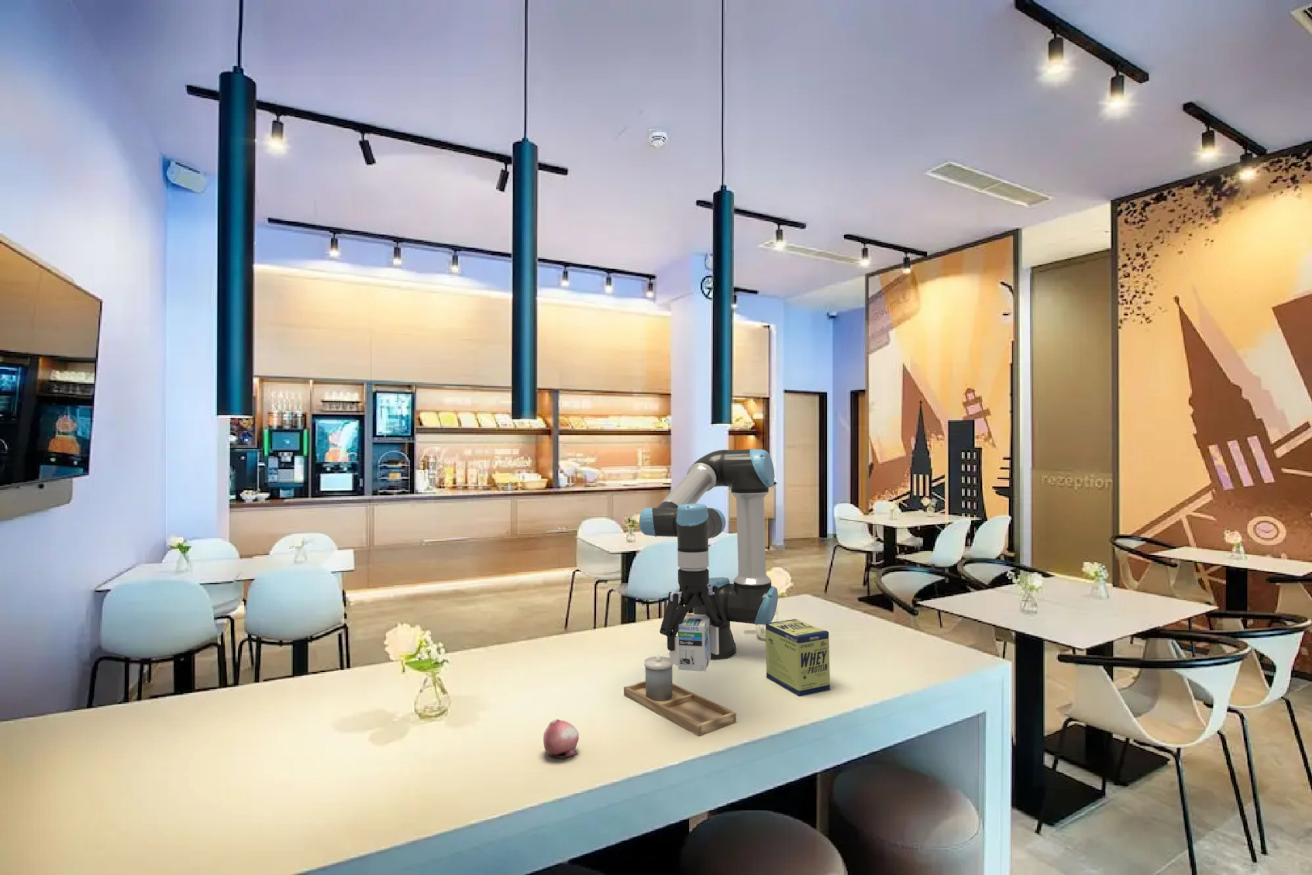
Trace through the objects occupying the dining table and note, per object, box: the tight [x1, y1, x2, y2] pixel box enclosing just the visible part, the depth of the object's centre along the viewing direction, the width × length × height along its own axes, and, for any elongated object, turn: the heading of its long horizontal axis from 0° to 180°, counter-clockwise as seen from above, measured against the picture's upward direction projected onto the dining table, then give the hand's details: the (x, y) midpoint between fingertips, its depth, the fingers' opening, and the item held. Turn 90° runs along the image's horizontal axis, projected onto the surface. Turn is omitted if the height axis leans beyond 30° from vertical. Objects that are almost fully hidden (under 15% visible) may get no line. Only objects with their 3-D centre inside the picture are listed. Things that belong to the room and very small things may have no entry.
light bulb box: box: [677, 613, 712, 672], centre depth 150 cm, size 11×7×11 cm, turn 168°
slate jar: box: [643, 655, 674, 701], centre depth 161 cm, size 7×7×10 cm
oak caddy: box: [623, 680, 737, 737], centre depth 155 cm, size 12×30×2 cm, turn 37°
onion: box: [542, 718, 580, 759], centre depth 133 cm, size 8×8×7 cm
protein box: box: [765, 618, 831, 697], centre depth 170 cm, size 10×16×16 cm
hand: (694, 658), depth 150 cm, fingers closed on light bulb box, 12 cm apart
